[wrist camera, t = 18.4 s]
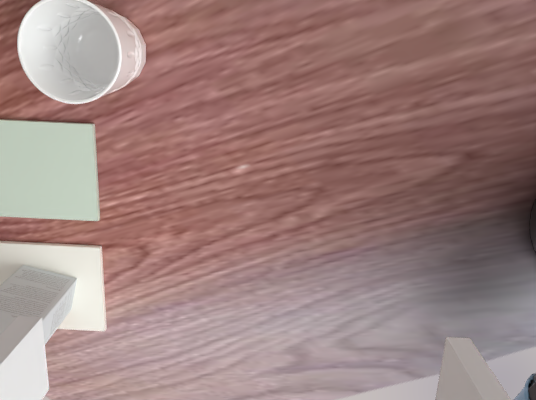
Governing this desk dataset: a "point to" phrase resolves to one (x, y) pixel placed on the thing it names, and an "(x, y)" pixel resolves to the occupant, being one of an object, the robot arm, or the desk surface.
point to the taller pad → (70, 264)
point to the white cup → (79, 50)
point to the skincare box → (36, 298)
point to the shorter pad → (48, 170)
